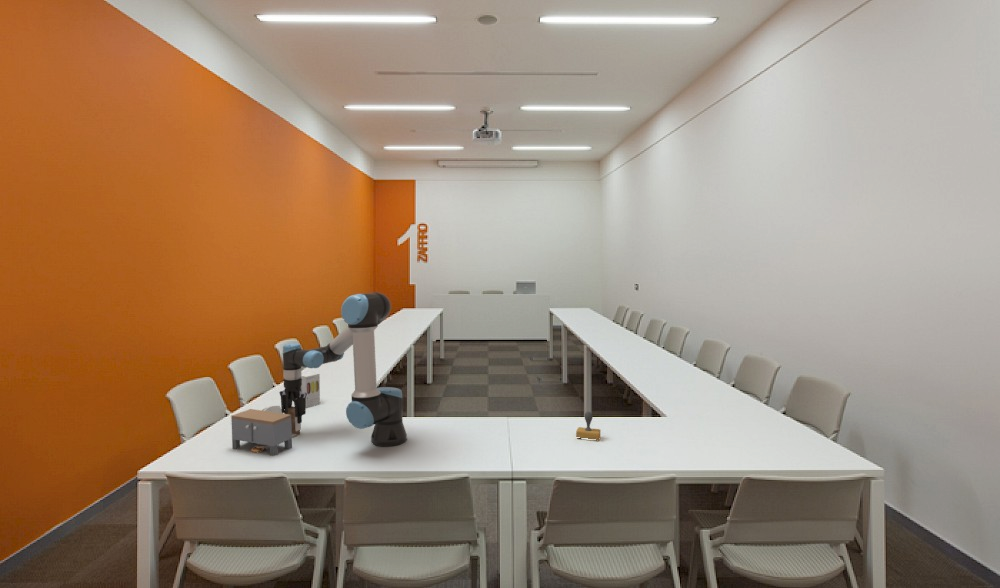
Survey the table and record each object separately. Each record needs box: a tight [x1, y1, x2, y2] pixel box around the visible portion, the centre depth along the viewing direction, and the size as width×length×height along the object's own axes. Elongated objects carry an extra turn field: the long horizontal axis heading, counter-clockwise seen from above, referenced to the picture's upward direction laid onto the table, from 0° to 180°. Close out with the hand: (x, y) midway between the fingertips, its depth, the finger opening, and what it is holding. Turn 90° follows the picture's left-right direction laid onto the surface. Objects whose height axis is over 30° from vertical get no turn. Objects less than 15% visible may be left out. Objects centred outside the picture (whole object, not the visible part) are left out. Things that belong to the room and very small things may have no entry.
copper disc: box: [250, 445, 265, 454], centre depth 216 cm, size 4×4×1 cm
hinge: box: [261, 405, 284, 414], centre depth 247 cm, size 17×5×10 cm, turn 170°
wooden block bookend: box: [254, 405, 301, 450], centre depth 227 cm, size 6×20×12 cm, turn 159°
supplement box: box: [300, 371, 321, 409], centre depth 281 cm, size 10×9×17 cm
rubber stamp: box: [575, 411, 601, 441], centre depth 232 cm, size 10×6×12 cm, turn 72°
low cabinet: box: [230, 408, 293, 457], centre depth 218 cm, size 22×11×14 cm, turn 69°
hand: (294, 429), depth 236 cm, fingers closed on wooden block bookend, 4 cm apart
